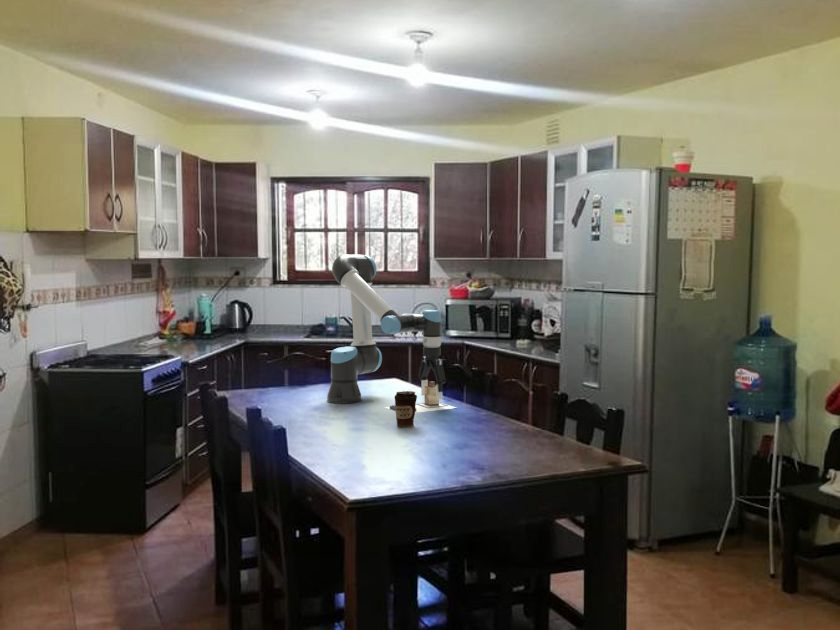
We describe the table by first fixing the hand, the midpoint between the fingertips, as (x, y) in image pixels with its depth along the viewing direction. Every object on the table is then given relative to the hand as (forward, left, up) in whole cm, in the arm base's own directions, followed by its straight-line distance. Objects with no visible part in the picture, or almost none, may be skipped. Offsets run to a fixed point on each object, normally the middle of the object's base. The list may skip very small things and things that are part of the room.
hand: (431, 397), depth 327 cm
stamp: (0, 0, -3) cm, 3 cm away
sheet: (+2, -7, -4) cm, 8 cm away
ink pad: (+3, -16, -3) cm, 17 cm away
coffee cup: (+29, -30, -4) cm, 42 cm away
